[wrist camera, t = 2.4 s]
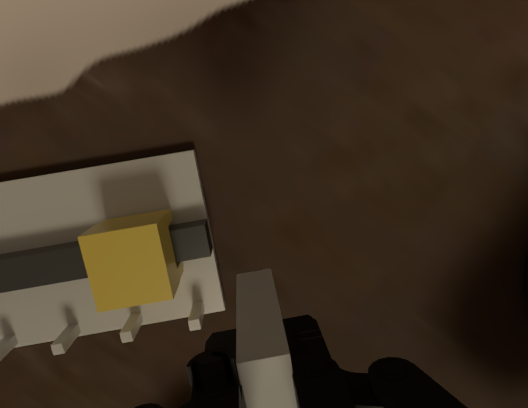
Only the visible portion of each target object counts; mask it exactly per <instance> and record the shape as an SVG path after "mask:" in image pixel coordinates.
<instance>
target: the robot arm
mask: <svg viewBox="0 0 528 408" xmlns="http://www.w3.org/2000/svg"><path fill="white" fill-rule="evenodd" d="M525 284H526V292H527V296H528V259H527V264H526V272H525ZM186 369H187V373H188V377H189V382H190V386H191V391H192V397H191V400H190V401H189V402H187V403H186V404H184V405H182V406H181V407H179V408H467V407H466V406H465V405H463V404H462V403H461V402H460V401H459V400H457V399H456V398H455V397H454V396H453V395H451V394H450V393H449V392H448V391H446V390H445V389H444V388H443V387H442V386H440V385H439V384H438V383H437V382H435V381H434V380H433V379H432V378H431V377H429V376H428V375H427V374H426V373H424V372H423V371H422V370H421V369H420V368H418V367H417V366H416V365H415V364H413V363H411V362H410V361H408V360H405V359H401V358H397V357H387V358H382V359H379V360H377V361H375V362H373V363H372V364H371V365H370V367H369V368H368V373H354V372H349V371H345V370H343V369H341V368H339V366H338V364H337V363H336V362H335V361H334V360H332V359H331V356H330V354H329V351H328V349H327V346H326V344H325V341H324V339H323V336H322V334H321V331H320V329H319V326H318V324H317V321H316V320H315V319H313V318H312V317H311V316H309V315H303V316H298V317H292V318H287V319H282V316H281V312H280V308H279V303H278V299H277V294H276V290H275V285H274V281H273V277H272V272H271V269H265V270H260V271H254V272H248V273H243V274H237V304H236V329H232V330H227V331H221V332H216V333H212V335H211V336H210V337H209V339H208V340H207V341H206V345H205V352H202V353H200V354H198V355H196V356H195V357H194V358H192V359H191V360H190V361H189V363H188V365H187V367H186ZM135 408H163V407H161V406H160V405H158V404H152V403H149V404H143V405H140V406H137V407H135Z"/></svg>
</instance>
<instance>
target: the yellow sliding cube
mask: <svg viewBox="0 0 528 408" xmlns="http://www.w3.org/2000/svg"><path fill="white" fill-rule="evenodd" d="M172 221H173V218H172V214H171V209H166V210H160V211H154V212H148V213H143V214H137V215H131V216H125V217H119V218H113V219H107V220H104V221H102V222H101V223H99V224H98V225H94V226H93V227H91V228H90V229H88V230H87V231H85V232H84V233H82V234H81V235H80V236H78V237H77V238H78V242H79V245H80V249H81V253H82V257H83V260H84V264H85V268H86V271H87V275H88V279H89V283H90V286H91V290H92V294H93V298H94V301H95V305H96V309H97V313H99V312H104V311H110V310H116V309H121V308H127V307H133V306H138V305H144V304H150V303H156V302H161V301H167V300H173V299H174V297H175V294H176V291H177V289H178V286H179V284H180V279H181V277H182V274H183V272H184V269H183V265H182V262H176V260H175V256H174V251H173V246H172V242H171V237H170V233H169V228H168V226H169V225H170V224H171V222H172Z"/></svg>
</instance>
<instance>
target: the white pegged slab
mask: <svg viewBox="0 0 528 408" xmlns="http://www.w3.org/2000/svg"><path fill="white" fill-rule="evenodd" d="M166 209H171V214H172V218H173V221H172V222H171V224H170V225H169V226H168V228H169V233H170V237H171V242H172V246H173V251H174V256H175V260H176V262H182V265H183V269H184V272H183V274H182V277H181V279H180V284H179V286H178V289H177V291H176V294H175V297H174V299H173V300H167V301H161V302H156V303H150V304H144V305H138V306H133V307H127V308H121V309H116V310H110V311H104V312H99V313H97V309H96V305H95V301H94V298H93V294H92V290H91V286H90V283H89V279H88V275H87V271H86V268H85V264H84V260H83V257H82V253H81V249H80V245H79V242H78V238H77V237H78V236H80V235H81V234H82V233H84V232H85V231H87V230H88V229H90V228H91V227H93V226H94V225H98V224H99V223H101V222H102V221H104V220H107V219H113V218H119V217H125V216H131V215H137V214H143V213H148V212H154V211H160V210H166ZM224 310H225V300H224V295H223V290H222V285H221V280H220V275H219V269H218V264H217V259H216V254H215V249H214V244H213V239H212V234H211V229H210V224H209V219H208V214H207V208H206V203H205V198H204V193H203V188H202V183H201V178H200V173H199V168H198V163H197V158H196V153H195V149H194V150H188V151H182V152H176V153H170V154H164V155H158V156H152V157H146V158H141V159H135V160H129V161H123V162H117V163H111V164H105V165H99V166H93V167H87V168H81V169H75V170H69V171H63V172H57V173H51V174H45V175H39V176H33V177H27V178H21V179H15V180H9V181H3V182H0V361H1V360H2V359H3V358H4V357H5V356H6V355H7V354H8V353H9V352H10V351H11V350H12V349H13V348H15V347H21V346H26V345H32V344H38V343H43V342H49V341H54V342H53V343H52V344H51V348H52V352H53V355H58V354H64V353H65V352H66V351H67V350H68V348H69V347H70V346H71V344H72V343H73V342H74V340H75V339H76V338H77V337H78V336H83V335H89V334H94V333H100V332H105V331H111V330H117V329H122V330H121V332H120V337H121V341H122V343H125V342H131V341H133V340H134V338H135V336H136V334H137V332H138V330H139V328H140V326H141V325H145V324H151V323H156V322H162V321H168V320H173V319H179V318H184V317H189V319H188V323H189V328H190V331H193V330H198V329H201V327H202V321H203V316H204V314H207V313H213V312H218V311H224Z"/></svg>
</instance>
